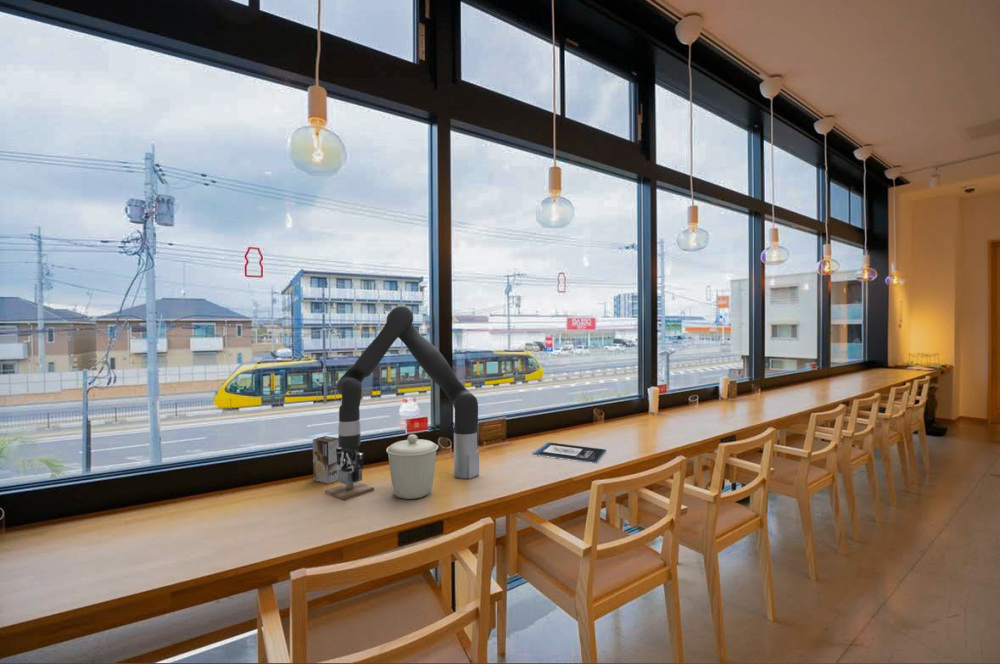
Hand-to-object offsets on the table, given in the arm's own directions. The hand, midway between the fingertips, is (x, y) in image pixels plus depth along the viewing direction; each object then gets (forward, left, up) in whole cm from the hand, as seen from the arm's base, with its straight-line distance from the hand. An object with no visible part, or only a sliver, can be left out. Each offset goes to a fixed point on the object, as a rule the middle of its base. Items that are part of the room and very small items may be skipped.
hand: (349, 479), depth 156 cm
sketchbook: (-41, -90, -5) cm, 99 cm away
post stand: (0, 0, -5) cm, 5 cm away
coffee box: (+18, -2, -5) cm, 19 cm away
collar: (0, 0, -1) cm, 1 cm away
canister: (-20, -12, -5) cm, 24 cm away
